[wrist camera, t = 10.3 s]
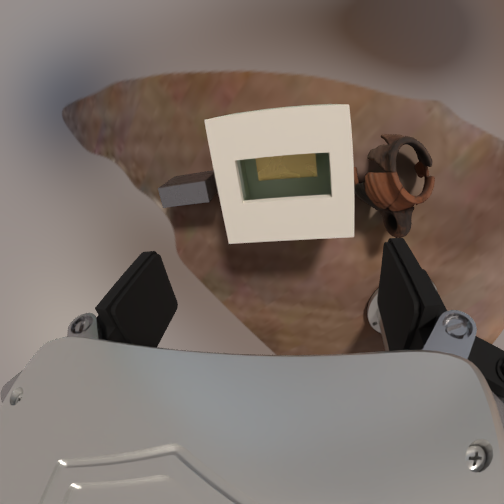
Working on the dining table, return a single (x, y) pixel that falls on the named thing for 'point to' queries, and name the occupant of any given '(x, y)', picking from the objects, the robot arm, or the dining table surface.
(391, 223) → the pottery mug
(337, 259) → the dining table surface
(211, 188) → the block
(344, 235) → the cream slotted box
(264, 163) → the block
